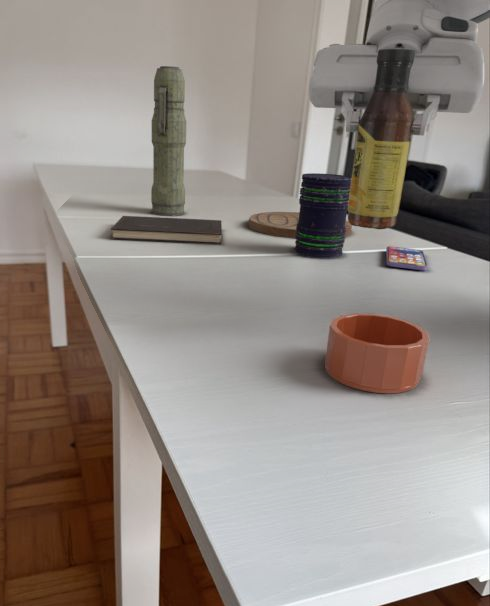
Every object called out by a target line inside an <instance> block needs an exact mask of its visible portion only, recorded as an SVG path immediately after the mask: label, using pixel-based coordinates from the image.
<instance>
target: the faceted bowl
mask: <svg viewBox="0 0 490 606" xmlns="http://www.w3.org/2000/svg"><path fill="white" fill-rule="evenodd" d="M429 343H430V336H429V332H427V330H425V329H424V328H423V327H421V326H420V325H418V324H415V323H414V322H411V321H409V320H406V319H403V318H400V317H395V316H391V315H386V314H379V313H367V312H366V313H365V312H364V313H362V312H361V313H359V312H356V313H348V314H342V315H341V314H340V315H338V316H336V317H334V318H332V319H331V321H330V324H329V329H328V336H327V343H326V351H325V358H324V369H325V371H326V373H327V374H328V375H329V376H330V377H331V378H332V379H334V380H335V381H337V382H338V383H340V384H343V385H344V386H347V387H350V388H353V389H355V390H360V391H362V392H363V391H364V392H368V393H376V394H400V393H406V392H409V391H411V390H414V389H415V388H417V386H418V385H419V384H420V382H421V380H422V376H423V372H424V366H425V362H426V358H427V353H428V349H429Z"/></svg>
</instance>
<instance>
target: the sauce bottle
mask: <svg viewBox="0 0 490 606" xmlns="http://www.w3.org/2000/svg"><path fill="white" fill-rule="evenodd" d="M414 56H415V50H413V49H402V48H384V49H379V51H378V56H377V65H378V66H377V74H376V81H375V86H374V88H373V89H374V91H373V94H372V96H371V98H370V100H369V103H368V105H367V107H366V109H364V111H363V113H362V114H361V116H360V122H359V126H358V132H356V142H355V149H354V155H353V163H352V164H353V165H352V171H351V177H352V179H351V187H350V194H349V202H348V209H347V221H348V222H349V223H350V224H351V225H352V227H359V228H363V229H373V230H374V229H375V230H386V229H390V228H393V227H394V226H395V225H396V223H397V217H398V213H399V211H400V205H401V199H402V194H403V193H402V192H403V187H404V182H405V175H406V170H407V163H408V158H409V153H410V146H411V139H412V138H411V131H412V125H413V119H414V111H413V110H412V106H411V105H410V103H409V100H408V97H407V91H408V88H409V86H408V83H409V77H410V71H411V67H412V65H413V62H414Z"/></svg>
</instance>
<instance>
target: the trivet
mask: <svg viewBox="0 0 490 606" xmlns="http://www.w3.org/2000/svg"><path fill="white" fill-rule="evenodd" d="M299 213H300V211H299V212H298V211H268V212H267V211H266V212H259V213H254V214H252V215H250V216H249V217H248V227H249V228H250V229H251V230H252V231H255V232H258V233H262V234H264V235H265V234H266V235H271V236H277V237H281V238H282V237H283V238H290V239H295V235H296V232H297V231H296V227H297V224H298V222H299ZM345 227H346V233H345V235H344V236H345V237H349V236H350V235H351V233H352V227H353V225H351V224H350V223H349V222H348V220H346V222H345Z"/></svg>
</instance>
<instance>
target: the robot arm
mask: <svg viewBox="0 0 490 606" xmlns="http://www.w3.org/2000/svg"><path fill="white" fill-rule="evenodd" d="M372 9H373V14H372V16H371V18H370V21H369V25H368V28H367V32H366V37H365V42H364V43H350V44H349V43H348V44H340V43H332V44H331V43H330V44H329V45H328V47H327V46H326V47H324V48H321V49H319V50H318V51H317V52H316V54H315V57H314V61H313V66H314V67H313V70H312V72H311V75H310V78H309V82H308V96H309V101H310V103H311V104H312V105H313V107H314V108H319V109H320V108H323V109H341V114H342V116H343V117H344V120H345V133H357V132H358V126H359V122H360V120H361V117H362V112H361V111H355V110H365V109H366V107H367V105H368V103H369V100H370V98H371V96H372V94H373V91H374V89H373V88H374V86H375V81H376V74H377V66H378V65H377V56H378V51H379V49H384V48H402V49H413V50H415V56H414V62H413V65H412V67H411V71H410V77H409V83H408V86H409V88H408V91H407V97H408V100H409V103H410V105H411V106H412V110H413V112H421V113H413V124H412V127H411V134H410V136H421V137H423V136H425V131H426V127H427V126H428V125H429V124H430V123H431V122H432V121H433V120H434V119H435V118H437V115H438V113H455V114H456V113H457V114H470V113H472V112H473V111H474V110H476V108H478V107H479V104H480V101H481V98H482V94H483V91H484V87H485V75H486V74H485V73H486V72H485V57H484V52H483V51H484V50H483V49H482V47H481V45H480V44H479V43H478V36H479V24H480V23H482V22H484V21H486V20H488V19H490V0H373V8H372Z"/></svg>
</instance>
